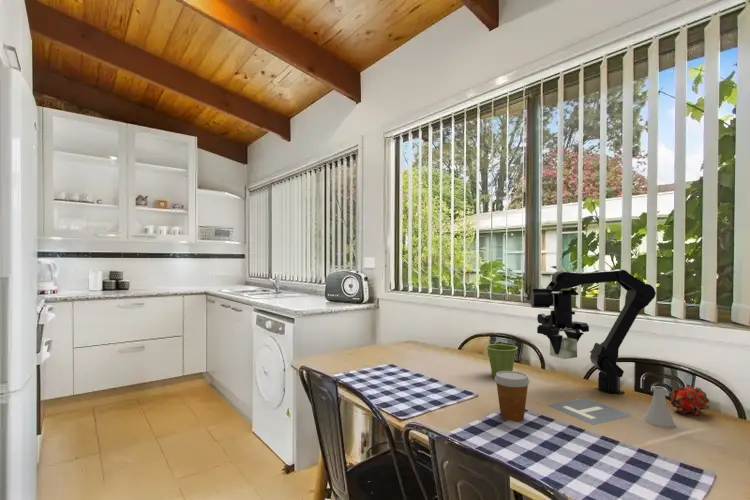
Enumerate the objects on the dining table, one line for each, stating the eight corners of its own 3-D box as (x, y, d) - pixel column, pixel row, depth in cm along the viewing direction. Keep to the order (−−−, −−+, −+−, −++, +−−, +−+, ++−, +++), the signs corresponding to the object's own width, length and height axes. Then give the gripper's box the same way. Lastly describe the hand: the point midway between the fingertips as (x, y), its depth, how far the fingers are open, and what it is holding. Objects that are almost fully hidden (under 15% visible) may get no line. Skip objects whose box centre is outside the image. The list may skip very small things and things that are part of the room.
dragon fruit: (708, 416, 119) (678, 427, 116) (682, 392, 126) (653, 402, 122) (724, 399, 114) (693, 410, 111) (696, 375, 121) (666, 384, 117)
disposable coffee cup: (490, 411, 120) (489, 370, 120) (521, 410, 121) (520, 369, 121) (502, 424, 111) (502, 380, 111) (536, 423, 111) (535, 379, 112)
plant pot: (521, 374, 157) (520, 345, 157) (513, 382, 147) (513, 351, 147) (490, 370, 164) (490, 342, 164) (481, 377, 154) (481, 348, 154)
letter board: (584, 399, 129) (584, 397, 129) (633, 417, 115) (633, 415, 115) (546, 407, 123) (546, 404, 123) (593, 427, 109) (593, 424, 109)
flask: (682, 431, 106) (681, 393, 106) (651, 429, 107) (650, 391, 107) (668, 420, 113) (667, 384, 113) (639, 418, 114) (638, 383, 114)
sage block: (562, 353, 143) (562, 336, 143) (577, 357, 138) (576, 339, 138) (550, 355, 141) (549, 338, 141) (564, 359, 135) (564, 341, 135)
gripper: (563, 304, 151) (563, 346, 150) (524, 307, 143) (525, 351, 143) (589, 307, 141) (590, 352, 140) (550, 310, 133) (550, 358, 133)
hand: (563, 353), depth 139 cm, fingers closed on sage block, 6 cm apart
